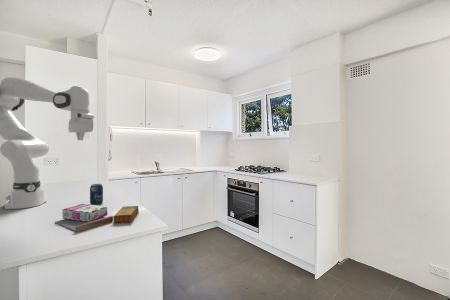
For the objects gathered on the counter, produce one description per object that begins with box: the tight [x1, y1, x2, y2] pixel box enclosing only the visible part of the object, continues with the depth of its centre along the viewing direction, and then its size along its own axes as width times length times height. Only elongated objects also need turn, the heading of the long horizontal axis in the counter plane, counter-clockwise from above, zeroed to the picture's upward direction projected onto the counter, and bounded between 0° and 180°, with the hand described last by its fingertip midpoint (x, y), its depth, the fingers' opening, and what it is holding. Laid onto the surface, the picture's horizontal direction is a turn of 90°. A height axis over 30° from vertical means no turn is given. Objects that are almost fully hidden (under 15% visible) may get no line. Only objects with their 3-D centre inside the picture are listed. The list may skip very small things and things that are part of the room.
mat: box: [54, 216, 106, 232], centre depth 105 cm, size 19×16×1 cm
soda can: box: [89, 183, 104, 206], centre depth 135 cm, size 7×7×12 cm
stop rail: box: [74, 215, 114, 233], centre depth 100 cm, size 1×16×2 cm, turn 149°
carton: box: [113, 205, 139, 224], centre depth 112 cm, size 8×16×4 cm, turn 10°
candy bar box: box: [62, 203, 108, 222], centre depth 109 cm, size 11×5×16 cm
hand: (80, 140), depth 124 cm, fingers closed
